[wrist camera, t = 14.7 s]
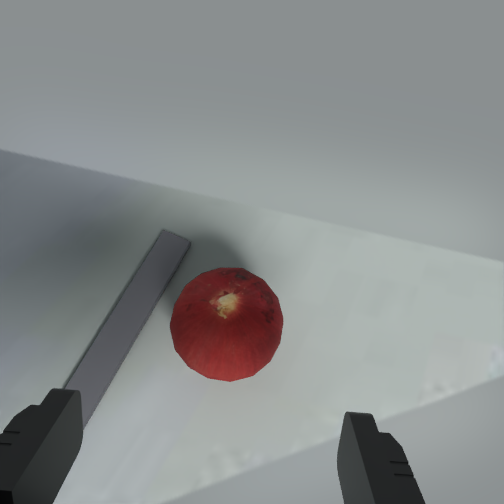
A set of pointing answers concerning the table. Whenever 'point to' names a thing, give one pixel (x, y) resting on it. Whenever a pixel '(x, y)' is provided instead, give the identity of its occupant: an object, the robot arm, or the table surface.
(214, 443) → the table surface
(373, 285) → the table surface
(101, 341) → the flat gray rectangular bar
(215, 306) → the onion
